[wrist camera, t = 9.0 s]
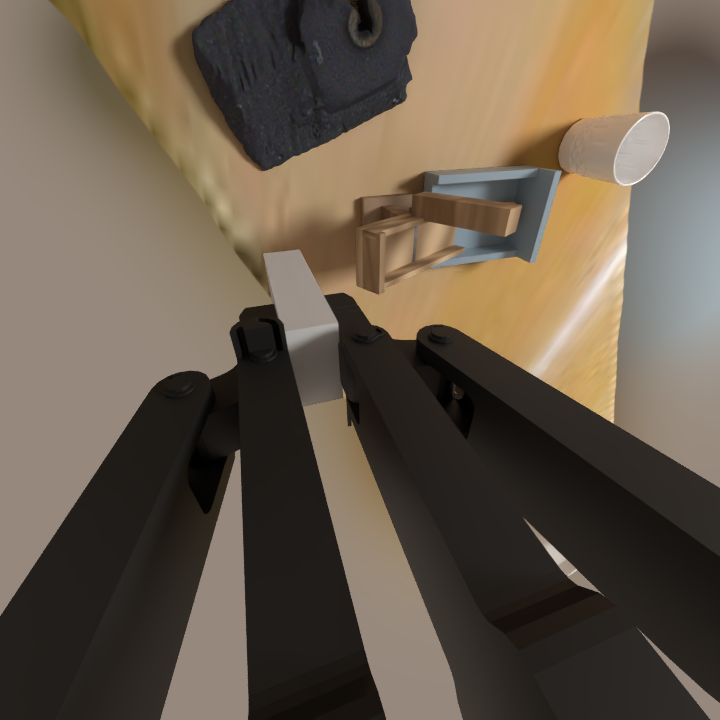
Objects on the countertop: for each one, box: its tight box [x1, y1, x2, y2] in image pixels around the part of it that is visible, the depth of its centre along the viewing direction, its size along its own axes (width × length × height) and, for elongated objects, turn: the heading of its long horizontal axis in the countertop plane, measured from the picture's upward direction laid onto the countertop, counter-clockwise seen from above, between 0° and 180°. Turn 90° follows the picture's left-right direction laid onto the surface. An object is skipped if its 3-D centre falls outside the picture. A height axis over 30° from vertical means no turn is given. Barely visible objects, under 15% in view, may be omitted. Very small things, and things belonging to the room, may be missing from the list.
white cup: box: [558, 112, 670, 186], centre depth 46 cm, size 8×8×10 cm
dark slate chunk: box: [192, 0, 417, 171], centre depth 34 cm, size 15×22×5 cm
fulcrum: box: [361, 193, 413, 226], centre depth 45 cm, size 7×7×8 cm
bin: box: [423, 165, 562, 269], centre depth 48 cm, size 16×12×7 cm
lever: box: [355, 192, 522, 295], centre depth 37 cm, size 18×9×12 cm, turn 91°
